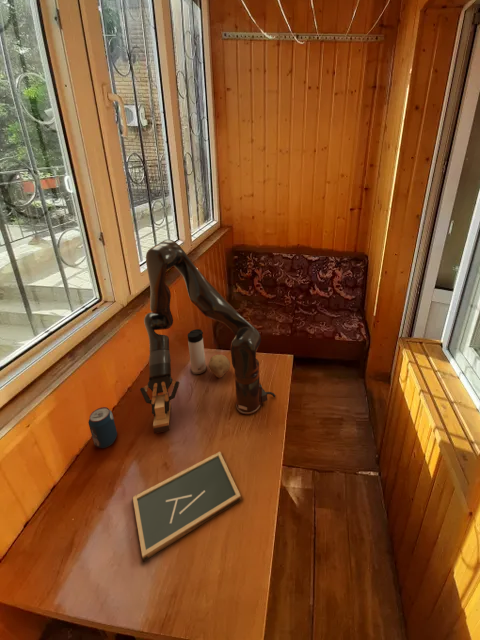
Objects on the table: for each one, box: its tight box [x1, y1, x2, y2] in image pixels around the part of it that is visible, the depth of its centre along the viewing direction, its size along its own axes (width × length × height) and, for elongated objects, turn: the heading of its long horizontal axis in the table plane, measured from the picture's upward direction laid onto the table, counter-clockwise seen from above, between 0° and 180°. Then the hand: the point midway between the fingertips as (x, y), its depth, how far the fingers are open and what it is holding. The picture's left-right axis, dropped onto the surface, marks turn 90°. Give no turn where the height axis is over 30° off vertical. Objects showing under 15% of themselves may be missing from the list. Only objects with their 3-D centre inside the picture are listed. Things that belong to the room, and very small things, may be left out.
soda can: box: [88, 406, 118, 449], centre depth 104 cm, size 7×7×12 cm
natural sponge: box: [208, 354, 231, 378], centre depth 136 cm, size 9×9×10 cm
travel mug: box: [187, 328, 207, 375], centre depth 137 cm, size 6×7×20 cm
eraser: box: [152, 393, 172, 435], centre depth 111 cm, size 10×5×9 cm, turn 16°
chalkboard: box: [132, 451, 242, 562], centre depth 88 cm, size 26×16×2 cm, turn 123°
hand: (161, 414), depth 109 cm, fingers closed on eraser, 3 cm apart
